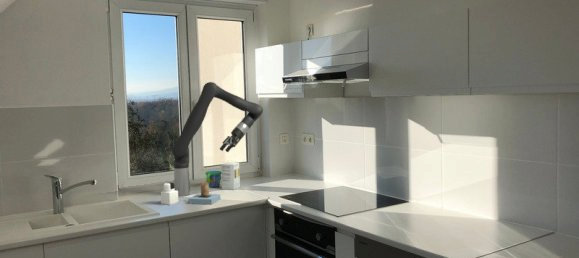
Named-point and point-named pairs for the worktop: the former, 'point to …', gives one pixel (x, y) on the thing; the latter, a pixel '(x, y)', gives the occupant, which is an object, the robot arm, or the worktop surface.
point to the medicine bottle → (169, 194)
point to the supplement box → (230, 176)
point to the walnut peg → (204, 190)
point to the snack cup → (213, 178)
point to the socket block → (204, 199)
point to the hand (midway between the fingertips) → (223, 150)
